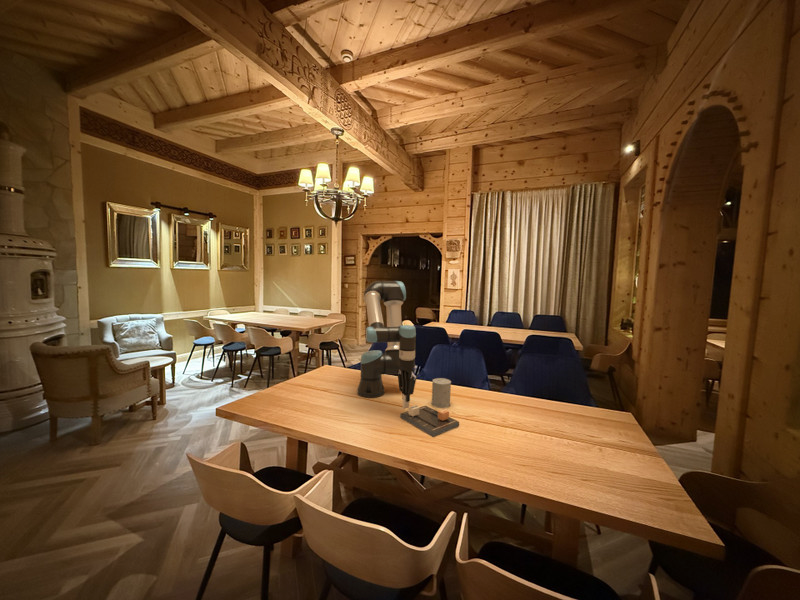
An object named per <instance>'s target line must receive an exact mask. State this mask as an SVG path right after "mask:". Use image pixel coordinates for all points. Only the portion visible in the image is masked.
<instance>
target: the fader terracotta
mask: <svg viewBox="0 0 800 600" xmlns="http://www.w3.org/2000/svg"><path fill="white" fill-rule="evenodd" d="M449 417H450V411H449V410H448V409H446V408H442V409H440V410H438V419H440V420H442V421H443V420H446V419H448V418H449Z"/></svg>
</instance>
